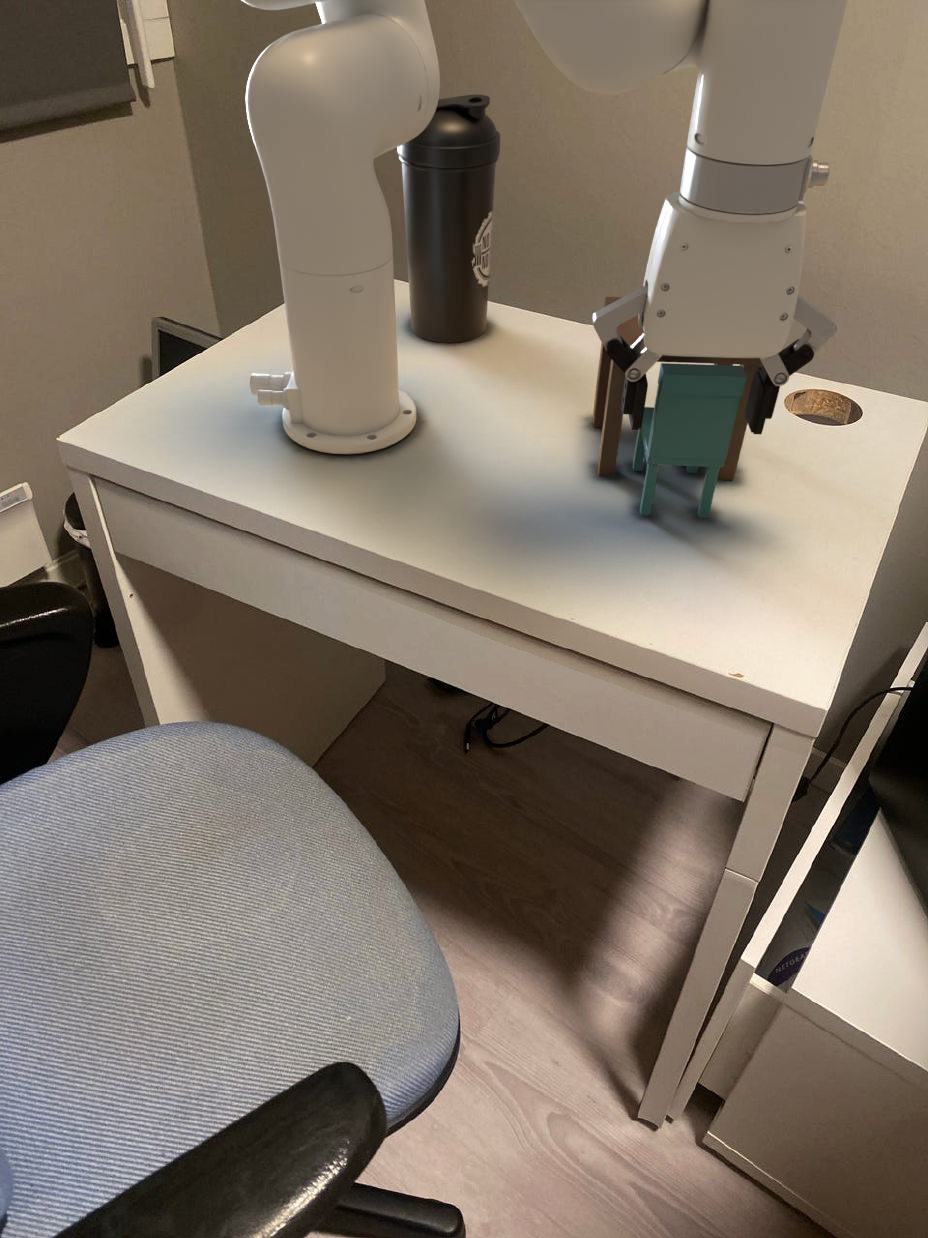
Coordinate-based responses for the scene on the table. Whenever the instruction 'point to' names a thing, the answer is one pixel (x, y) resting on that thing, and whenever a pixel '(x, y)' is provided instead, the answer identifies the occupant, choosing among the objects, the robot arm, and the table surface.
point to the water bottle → (450, 219)
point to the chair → (689, 425)
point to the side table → (612, 391)
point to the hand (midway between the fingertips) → (693, 422)
